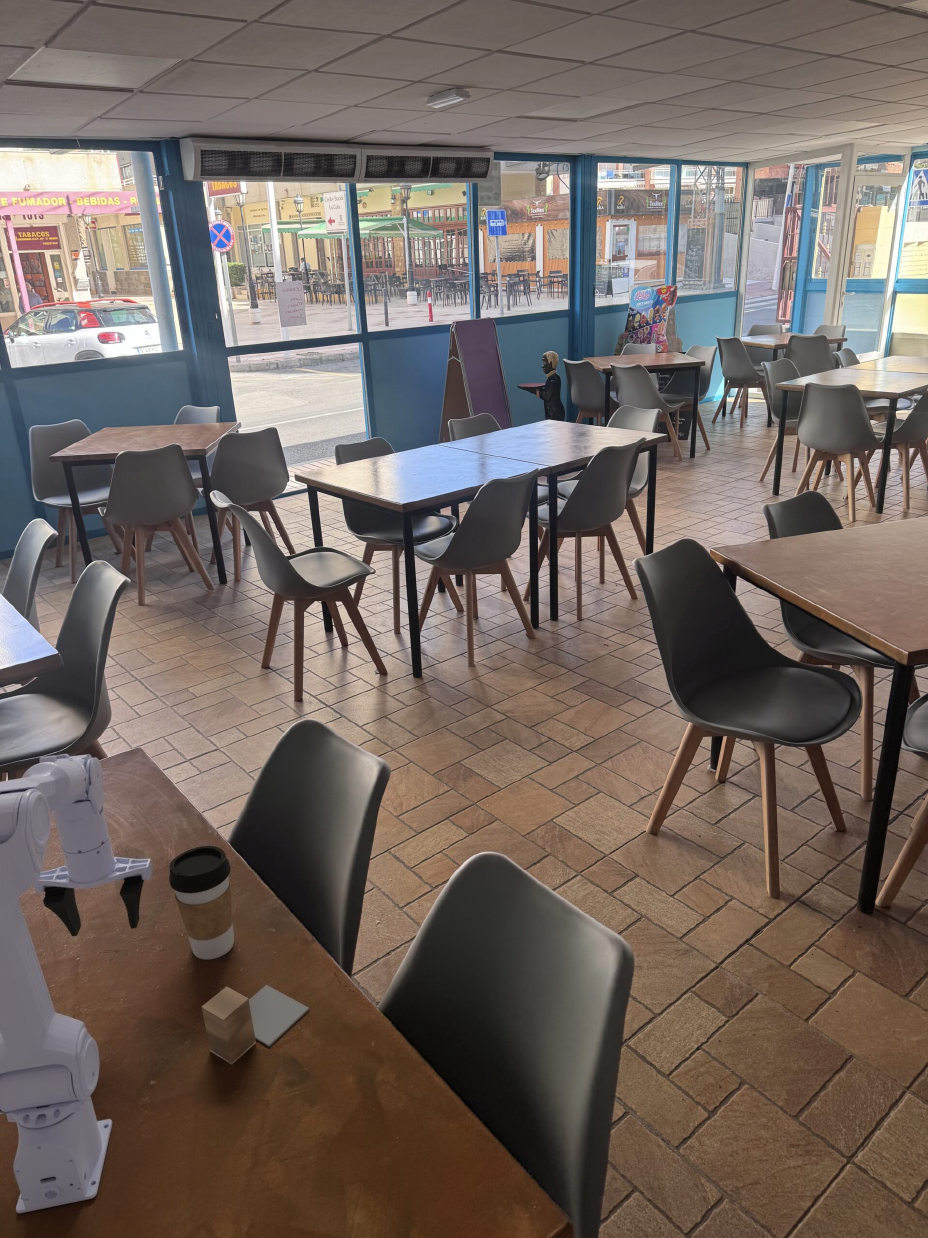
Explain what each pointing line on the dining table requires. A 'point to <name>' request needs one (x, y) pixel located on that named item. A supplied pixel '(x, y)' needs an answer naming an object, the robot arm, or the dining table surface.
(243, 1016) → the walnut block
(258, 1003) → the slate mat
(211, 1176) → the dining table surface
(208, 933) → the coffee cup
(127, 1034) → the dining table surface
